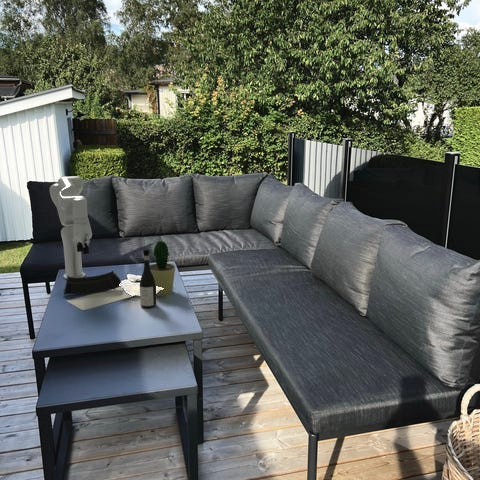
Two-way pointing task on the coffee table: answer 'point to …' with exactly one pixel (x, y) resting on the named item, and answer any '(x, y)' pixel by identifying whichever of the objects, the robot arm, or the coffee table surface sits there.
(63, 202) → the robot arm
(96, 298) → the mat
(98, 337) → the coffee table surface
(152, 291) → the wine bottle
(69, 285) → the magazine
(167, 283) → the potted cactus
